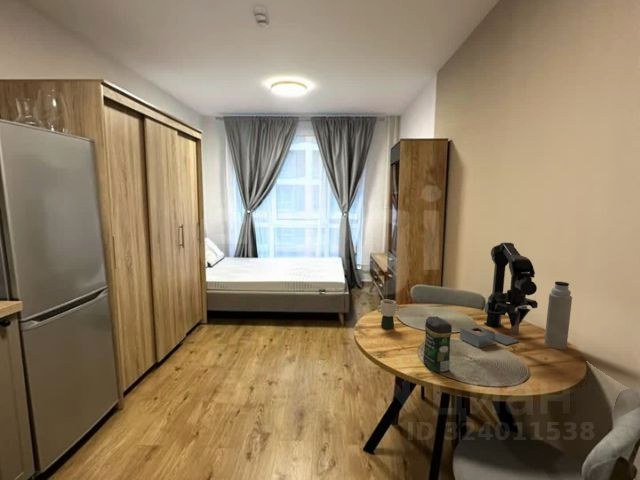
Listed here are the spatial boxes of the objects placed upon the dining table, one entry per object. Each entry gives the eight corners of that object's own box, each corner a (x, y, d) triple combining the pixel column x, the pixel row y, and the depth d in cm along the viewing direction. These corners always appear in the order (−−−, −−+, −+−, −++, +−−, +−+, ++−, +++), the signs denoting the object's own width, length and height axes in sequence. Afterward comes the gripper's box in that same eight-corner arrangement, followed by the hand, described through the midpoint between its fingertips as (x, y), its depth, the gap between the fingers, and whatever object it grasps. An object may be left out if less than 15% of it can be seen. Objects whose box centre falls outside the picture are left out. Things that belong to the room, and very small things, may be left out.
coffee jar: (419, 361, 130) (422, 315, 128) (438, 359, 131) (441, 314, 129) (433, 374, 120) (436, 324, 118) (452, 372, 122) (456, 323, 120)
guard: (475, 335, 156) (476, 324, 156) (494, 343, 147) (495, 332, 147) (459, 338, 152) (460, 328, 151) (478, 347, 143) (479, 336, 142)
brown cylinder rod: (513, 332, 143) (515, 310, 141) (519, 335, 140) (521, 312, 139) (508, 333, 141) (510, 310, 140) (515, 336, 139) (517, 312, 138)
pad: (500, 334, 157) (500, 333, 157) (519, 342, 149) (519, 340, 149) (487, 337, 153) (487, 336, 153) (505, 345, 145) (505, 344, 145)
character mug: (394, 324, 168) (395, 298, 167) (401, 329, 162) (402, 303, 160) (374, 325, 166) (375, 300, 165) (379, 331, 159) (380, 304, 158)
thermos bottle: (542, 340, 151) (548, 279, 148) (562, 343, 149) (569, 281, 145) (547, 347, 144) (553, 283, 140) (569, 350, 141) (576, 285, 138)
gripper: (514, 282, 150) (511, 316, 151) (485, 286, 142) (482, 322, 143) (539, 288, 140) (536, 324, 142) (510, 293, 132) (507, 331, 133)
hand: (515, 325), depth 140 cm, fingers closed on brown cylinder rod, 3 cm apart
